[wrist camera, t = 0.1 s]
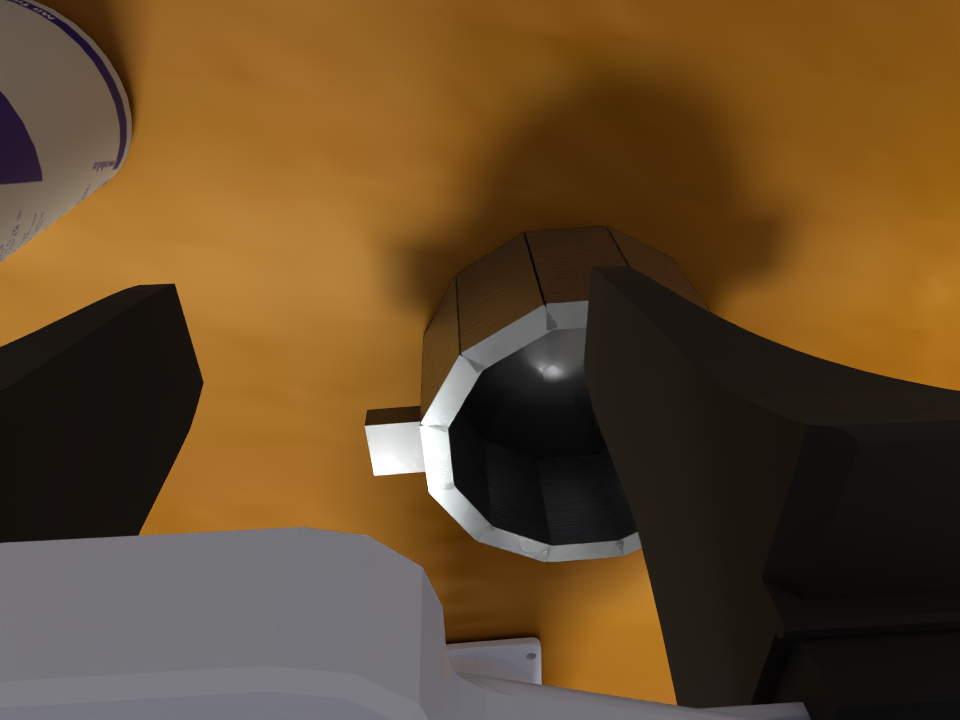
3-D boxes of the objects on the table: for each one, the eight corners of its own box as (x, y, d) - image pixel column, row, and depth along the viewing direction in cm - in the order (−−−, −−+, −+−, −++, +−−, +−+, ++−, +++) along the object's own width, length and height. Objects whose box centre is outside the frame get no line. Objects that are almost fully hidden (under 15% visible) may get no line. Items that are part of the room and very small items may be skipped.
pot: (725, 449, 27) (778, 543, 23) (397, 475, 27) (389, 575, 23) (769, 214, 22) (849, 281, 18) (358, 244, 22) (339, 319, 17)
